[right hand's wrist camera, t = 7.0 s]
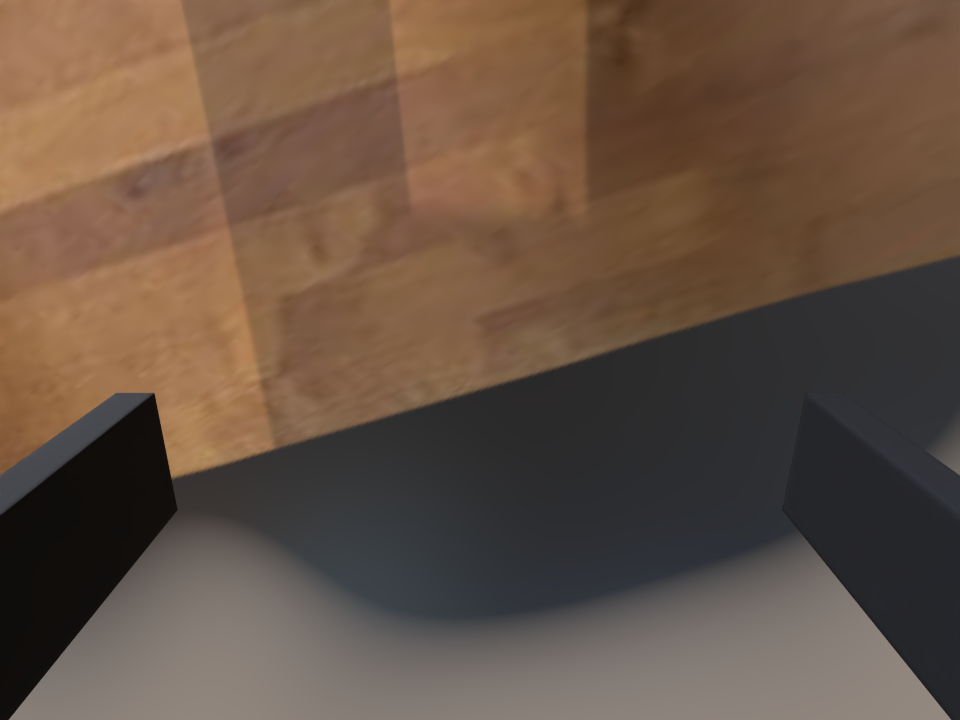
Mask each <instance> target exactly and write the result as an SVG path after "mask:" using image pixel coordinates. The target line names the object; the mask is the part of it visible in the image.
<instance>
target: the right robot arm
mask: <svg viewBox="0 0 960 720" xmlns="http://www.w3.org/2000/svg"><path fill="white" fill-rule="evenodd" d="M176 511H177V505H176V500H175V495H174V490H173V485H172V480H171V475H170V470H169V465H168V459H167V454H166V449H165V444H164V439H163V434H162V429H161V424H160V419H159V414H158V409H157V404H156V399H155V394H154V393H116V394H114V395H113V396H111V397H110V398H109V399H107V400H106V401H104V402H103V403H102V404H100V405H99V406H97V407H96V408H95V409H93V410H92V411H90V412H89V413H88V414H86V415H85V416H83V417H82V418H81V419H79V420H78V421H76V422H75V423H73V424H72V425H71V426H69V427H68V428H66V429H65V430H64V431H62V432H61V433H59V434H58V435H57V436H55V437H54V438H52V439H51V440H50V441H48V442H47V443H45V444H44V445H43V446H41V447H40V448H38V449H37V450H35V451H34V452H33V453H31V454H30V455H28V456H27V457H26V458H24V459H23V460H21V461H20V462H19V463H17V464H16V465H14V466H13V467H12V468H10V469H9V470H7V471H6V472H5V473H3V474H2V475H0V720H9V719H10V717H11V716H12V715H13V714H14V712H15V711H16V710H17V709H18V707H19V706H20V705H21V704H22V702H23V701H24V700H25V699H26V697H27V696H28V695H29V694H30V692H31V691H32V690H33V689H34V687H35V686H36V685H37V684H38V682H39V681H40V680H41V679H42V678H43V676H44V675H45V674H46V673H47V671H48V670H49V669H50V668H51V666H52V665H53V664H54V663H55V661H56V660H57V659H58V658H59V656H60V655H61V654H62V653H63V651H64V650H65V649H66V648H67V646H68V645H69V644H70V643H71V642H72V640H73V639H74V638H75V637H76V635H77V634H78V633H79V632H80V630H81V629H82V628H83V627H84V625H85V624H86V623H87V622H88V620H89V619H90V618H91V617H92V616H93V614H94V613H95V612H96V611H97V609H98V608H99V607H100V606H101V604H102V603H103V602H104V601H105V599H106V598H107V597H108V596H109V594H110V593H111V592H112V591H113V589H114V588H115V587H116V586H117V584H118V583H119V582H120V581H121V580H122V578H123V577H124V576H125V575H126V573H127V572H128V571H129V570H130V568H131V567H132V566H133V565H134V563H135V562H136V561H137V560H138V558H139V557H140V556H141V555H142V553H143V552H144V551H145V550H146V548H147V547H148V546H149V545H150V543H151V542H152V541H153V540H154V539H155V537H156V536H157V535H158V534H159V532H160V531H161V530H162V529H163V527H164V526H165V525H166V524H167V522H168V521H169V520H170V519H171V517H172V516H173V515H174V514H175V512H176ZM783 511H784V512H785V514H786V515H787V516H788V517H789V519H790V520H791V521H792V522H793V524H794V525H795V526H796V527H797V529H798V530H799V531H800V532H801V534H802V535H803V536H804V537H805V539H806V540H807V541H808V542H809V544H810V545H811V546H812V547H813V548H814V550H815V551H816V552H817V553H818V555H819V556H820V557H821V558H822V560H823V561H824V562H825V563H826V565H827V566H828V567H829V568H830V570H831V571H832V572H833V573H834V575H835V576H836V577H837V578H838V580H839V581H840V582H841V583H842V584H843V586H844V587H845V588H846V589H847V591H848V592H849V593H850V594H851V596H852V597H853V598H854V599H855V601H856V602H857V603H858V604H859V606H860V607H861V608H862V609H863V611H864V612H865V613H866V614H867V616H868V617H869V618H870V619H871V620H872V622H873V623H874V624H875V625H876V627H877V628H878V629H879V630H880V632H881V633H882V634H883V635H884V637H885V638H886V639H887V640H888V642H889V643H890V644H891V645H892V647H893V648H894V649H895V650H896V652H897V653H898V654H899V655H900V656H901V658H902V659H903V660H904V661H905V663H906V664H907V665H908V666H909V668H910V669H911V670H912V671H913V673H914V674H915V675H916V676H917V678H918V679H919V680H920V681H921V683H922V684H923V685H924V686H925V688H926V689H927V690H928V691H929V692H930V694H931V695H932V696H933V697H934V699H935V700H936V701H937V702H938V704H939V705H940V706H941V707H942V709H943V710H944V711H945V712H946V714H947V715H948V716H949V717H950V719H951V720H960V475H958V474H957V473H955V472H954V471H953V470H951V469H950V468H948V467H947V466H946V465H944V464H943V463H941V462H940V461H939V460H937V459H936V458H934V457H933V456H932V455H930V454H929V453H927V452H926V451H924V450H923V449H922V448H920V447H919V446H917V445H916V444H915V443H913V442H912V441H910V440H909V439H908V438H906V437H905V436H903V435H902V434H901V433H899V432H898V431H896V430H895V429H894V428H892V427H891V426H889V425H888V424H887V423H885V422H884V421H882V420H881V419H879V418H878V417H877V416H875V415H874V414H872V413H871V412H870V411H868V410H867V409H865V408H864V407H863V406H861V405H860V404H858V403H857V402H855V401H854V400H853V399H851V398H850V397H849V396H847V395H846V394H844V393H806V394H805V399H804V404H803V409H802V414H801V419H800V424H799V429H798V434H797V439H796V444H795V449H794V454H793V460H792V465H791V470H790V475H789V480H788V485H787V490H786V495H785V500H784V505H783Z"/></svg>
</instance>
